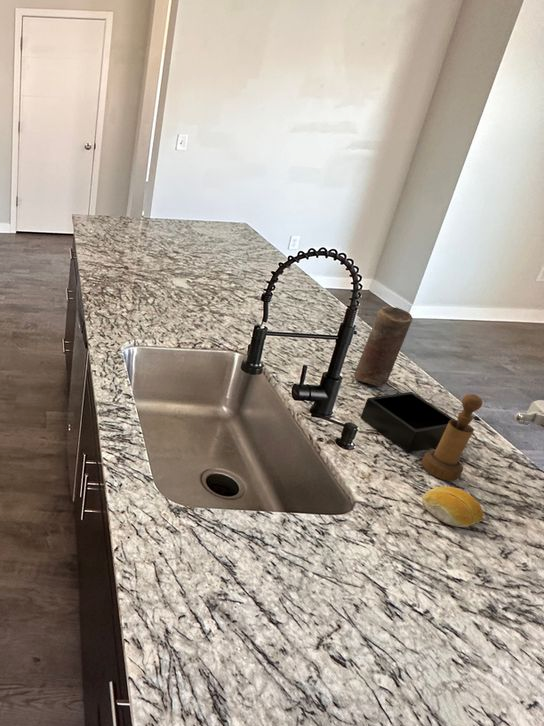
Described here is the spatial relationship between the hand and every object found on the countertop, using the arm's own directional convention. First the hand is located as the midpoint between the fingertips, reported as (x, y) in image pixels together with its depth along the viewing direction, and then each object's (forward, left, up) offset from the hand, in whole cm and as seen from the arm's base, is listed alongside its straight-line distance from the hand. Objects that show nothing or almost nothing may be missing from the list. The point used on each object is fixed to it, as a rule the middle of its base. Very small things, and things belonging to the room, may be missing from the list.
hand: (532, 432), depth 102 cm
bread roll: (+20, +4, -12) cm, 23 cm away
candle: (-2, -36, -12) cm, 38 cm away
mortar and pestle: (+11, -5, -12) cm, 17 cm away
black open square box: (+7, -17, -12) cm, 22 cm away
